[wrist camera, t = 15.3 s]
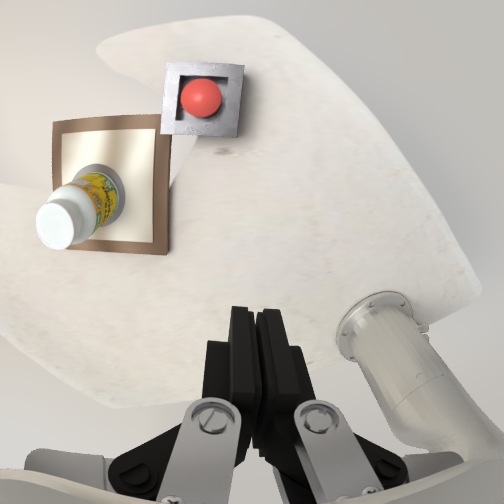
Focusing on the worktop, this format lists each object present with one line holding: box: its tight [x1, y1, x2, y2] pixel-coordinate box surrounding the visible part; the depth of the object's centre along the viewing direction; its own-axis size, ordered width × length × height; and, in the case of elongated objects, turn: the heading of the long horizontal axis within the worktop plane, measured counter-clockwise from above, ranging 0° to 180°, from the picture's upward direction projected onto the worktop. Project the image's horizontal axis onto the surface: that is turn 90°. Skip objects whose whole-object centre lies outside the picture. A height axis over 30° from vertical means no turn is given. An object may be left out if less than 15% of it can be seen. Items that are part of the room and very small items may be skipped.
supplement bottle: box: [36, 172, 119, 250], centre depth 23 cm, size 5×5×10 cm
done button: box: [181, 79, 222, 118], centre depth 24 cm, size 4×4×2 cm
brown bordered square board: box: [52, 114, 172, 255], centre depth 28 cm, size 14×15×2 cm
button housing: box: [160, 62, 244, 138], centre depth 25 cm, size 7×7×4 cm
